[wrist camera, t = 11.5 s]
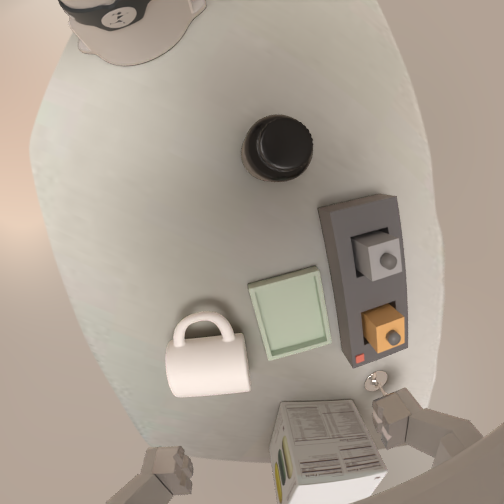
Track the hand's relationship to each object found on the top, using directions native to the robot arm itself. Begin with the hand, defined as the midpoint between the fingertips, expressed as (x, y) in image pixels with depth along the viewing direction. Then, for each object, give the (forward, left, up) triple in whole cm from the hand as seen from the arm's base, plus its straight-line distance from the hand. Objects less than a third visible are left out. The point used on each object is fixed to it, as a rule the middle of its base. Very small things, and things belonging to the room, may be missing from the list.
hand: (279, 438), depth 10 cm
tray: (+9, +4, -29) cm, 31 cm away
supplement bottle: (-12, +6, -29) cm, 32 cm away
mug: (+10, -8, -29) cm, 32 cm away
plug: (+12, +15, -28) cm, 34 cm away
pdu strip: (+7, +15, -29) cm, 33 cm away
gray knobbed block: (+2, +15, -28) cm, 31 cm away
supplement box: (+33, +3, -29) cm, 44 cm away
